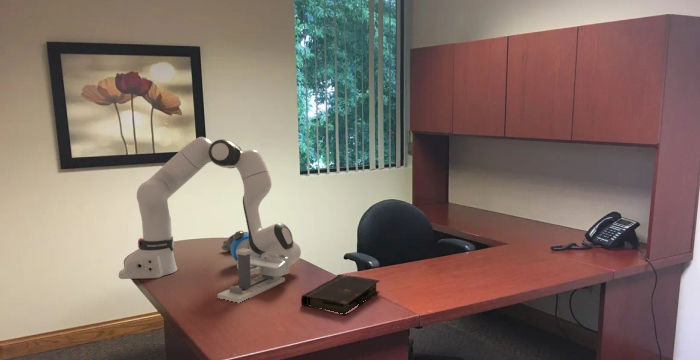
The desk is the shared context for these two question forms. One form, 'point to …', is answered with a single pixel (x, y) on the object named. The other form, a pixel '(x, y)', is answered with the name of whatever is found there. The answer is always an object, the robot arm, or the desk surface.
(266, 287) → the console
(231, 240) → the mineral rock
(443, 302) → the desk surface
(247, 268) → the fader tab
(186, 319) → the desk surface
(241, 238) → the alarm clock
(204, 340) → the desk surface
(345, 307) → the diary
